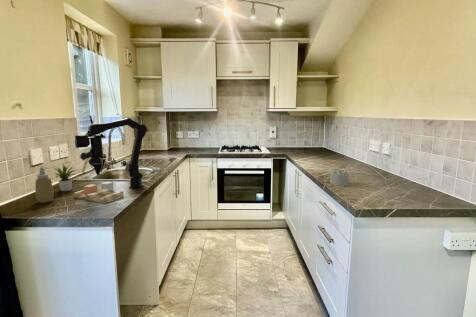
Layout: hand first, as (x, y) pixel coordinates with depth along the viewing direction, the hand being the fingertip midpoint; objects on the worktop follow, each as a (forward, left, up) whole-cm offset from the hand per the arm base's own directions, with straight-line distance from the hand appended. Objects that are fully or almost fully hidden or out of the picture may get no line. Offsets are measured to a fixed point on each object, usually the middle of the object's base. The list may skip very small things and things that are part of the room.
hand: (99, 173), depth 158 cm
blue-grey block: (-5, 0, -12) cm, 13 cm away
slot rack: (+6, +6, -12) cm, 14 cm away
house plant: (+4, -24, -12) cm, 27 cm away
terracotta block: (+6, 0, -11) cm, 12 cm away
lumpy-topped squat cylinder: (-75, +126, -12) cm, 147 cm away
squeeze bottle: (+22, -14, -12) cm, 29 cm away
